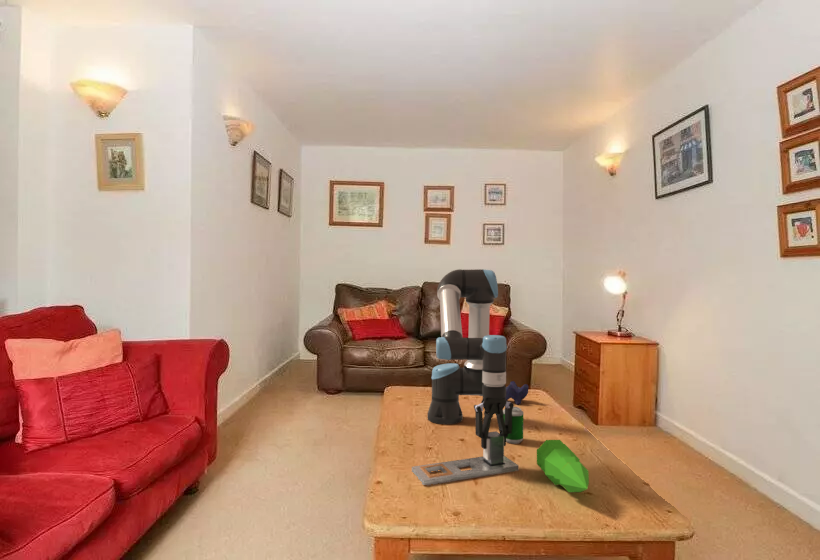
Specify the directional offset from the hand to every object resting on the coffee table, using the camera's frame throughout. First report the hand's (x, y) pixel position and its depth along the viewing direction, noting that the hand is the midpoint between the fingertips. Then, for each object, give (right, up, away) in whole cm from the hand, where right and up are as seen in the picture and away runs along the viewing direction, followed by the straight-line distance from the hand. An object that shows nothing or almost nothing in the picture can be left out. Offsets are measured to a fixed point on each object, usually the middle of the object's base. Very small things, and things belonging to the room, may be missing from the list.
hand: (493, 457), depth 141 cm
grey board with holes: (-9, -3, -4) cm, 11 cm away
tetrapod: (+25, -4, +76) cm, 80 cm away
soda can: (+12, -3, +23) cm, 26 cm away
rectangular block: (0, -3, 0) cm, 3 cm away
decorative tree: (+17, -3, -13) cm, 22 cm away
